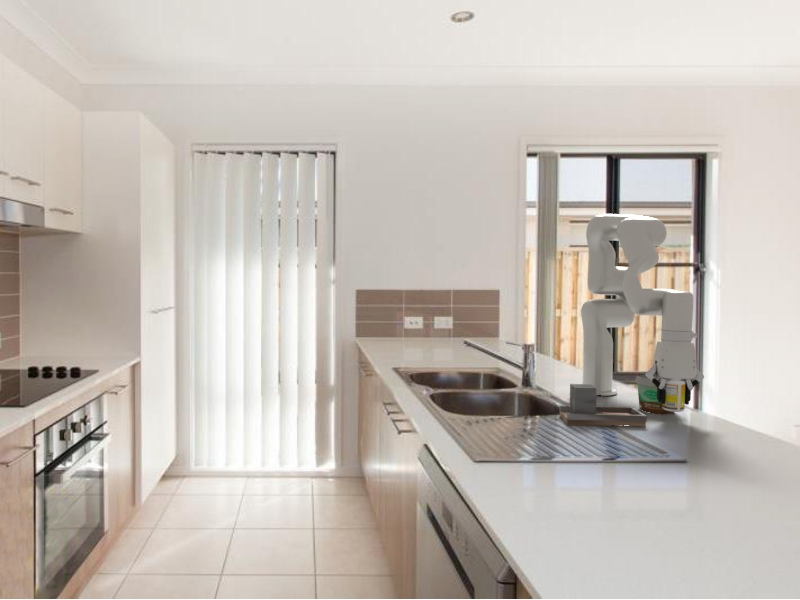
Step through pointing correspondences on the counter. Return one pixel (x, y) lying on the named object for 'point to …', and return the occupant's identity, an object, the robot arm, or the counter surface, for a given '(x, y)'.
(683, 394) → the supplement bottle
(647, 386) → the food container
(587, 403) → the wooden tray
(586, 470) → the counter surface
